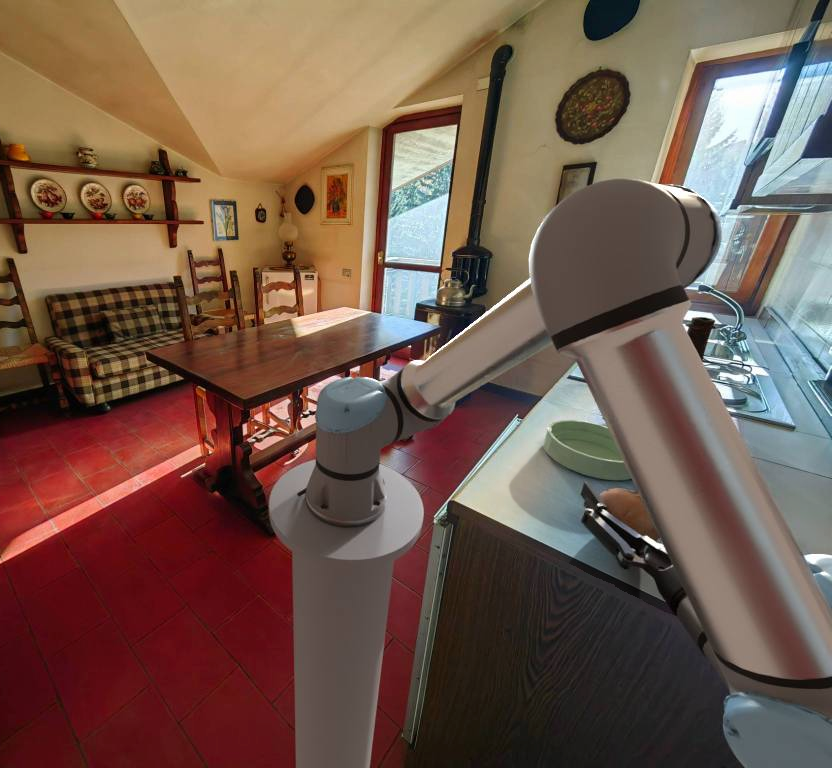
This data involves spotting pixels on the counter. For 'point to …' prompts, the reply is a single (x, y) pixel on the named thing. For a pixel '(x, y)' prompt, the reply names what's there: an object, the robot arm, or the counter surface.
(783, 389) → the counter surface
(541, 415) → the counter surface
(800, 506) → the counter surface
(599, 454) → the bowl
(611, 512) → the onion
